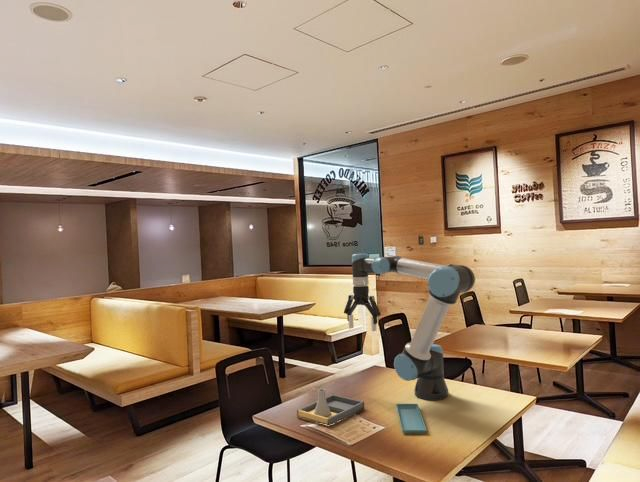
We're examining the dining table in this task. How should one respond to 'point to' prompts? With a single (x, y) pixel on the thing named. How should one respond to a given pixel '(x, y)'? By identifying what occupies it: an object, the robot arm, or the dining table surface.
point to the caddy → (332, 410)
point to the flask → (322, 405)
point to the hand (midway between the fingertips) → (362, 329)
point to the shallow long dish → (411, 419)
